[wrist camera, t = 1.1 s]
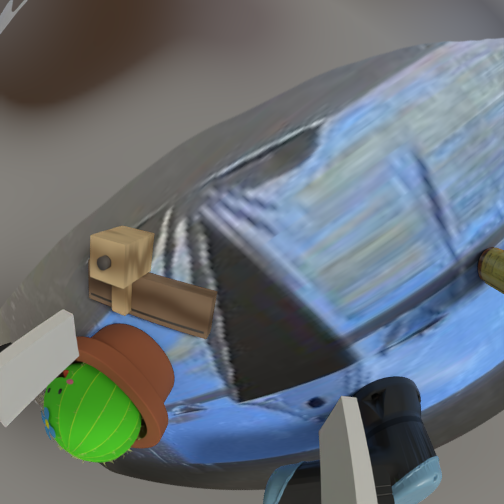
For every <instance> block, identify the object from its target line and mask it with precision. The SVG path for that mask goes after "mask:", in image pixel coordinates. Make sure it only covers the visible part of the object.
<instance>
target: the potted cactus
mask: <svg viewBox="0 0 504 504" xmlns="http://www.w3.org/2000/svg"><path fill="white" fill-rule="evenodd" d="M76 340H77V346H78V352H79V357H77V358H76V359H75V360H74V361H73V362H72V363H71V364H70V365H69V366H68V367H67V368H66V369H65V370H64V371H62V372H61V373H60V374H59V375H58V376H57V377H56V378H55V379H54V380H53V381H52V382H51V383H50V384H49V385H48V386H47V389H46V392H45V394H44V395H45V397H44V396H43V397H44V405H42V406H44V410H42V411H44V415H45V417H44V416H43V413H42V411H41V414H42V420H43V422H44V424H46V427H45V429H46V432H47V434H48V436H49V438H50V435H49V431H50V433H51V435H52V436H53V437H54V438H55V440H56V441H57V442H58V444H59V445H60V446H61V447H62V448H64V449H65V450H66V451H67V452H69V453H70V454H72V455H73V456H75V457H77V458H78V459H79V458H80V459H82V460H83V461H84V460H86V461H90V462H107V461H112V460H114V459H116V458H118V457H119V456H121V455H123V454H124V453H125V452H127V450H128V449H129V448H130V447H133V448H149V447H152V446H155V445H156V444H157V443H158V442H159V441H160V439H161V437H162V435H163V434H164V432H165V430H166V428H167V425H168V414H167V411H166V408H165V406H164V402H165V400H166V398H167V397H168V395H169V393H170V392H171V390H172V388H173V385H174V372H173V368H172V366H171V363H170V361H169V359H168V357H167V356H166V354H165V353H164V351H163V350H162V349H161V347H160V346H159V345H158V344H157V343H156V342H155V341H154V340H153V339H152V338H151V337H150V336H149V335H148V334H146V333H145V332H143V331H142V330H140V329H138V328H136V327H134V326H131V325H127V324H111V325H108V326H106V327H104V328H102V329H101V330H100V331H99V332H97V333H96V334H95V335H94V336H92V337H91V338H88V337H76ZM42 403H43V402H42ZM50 439H51V438H50ZM58 447H59V446H58ZM62 448H61V449H62ZM129 451H131V450H130V449H129ZM127 453H128V452H127ZM123 456H124V455H123ZM124 457H125V456H124ZM124 457H123V458H124ZM114 461H115V460H114ZM112 463H113V462H112ZM104 464H105V463H104ZM105 467H107V466H105Z"/></svg>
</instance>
